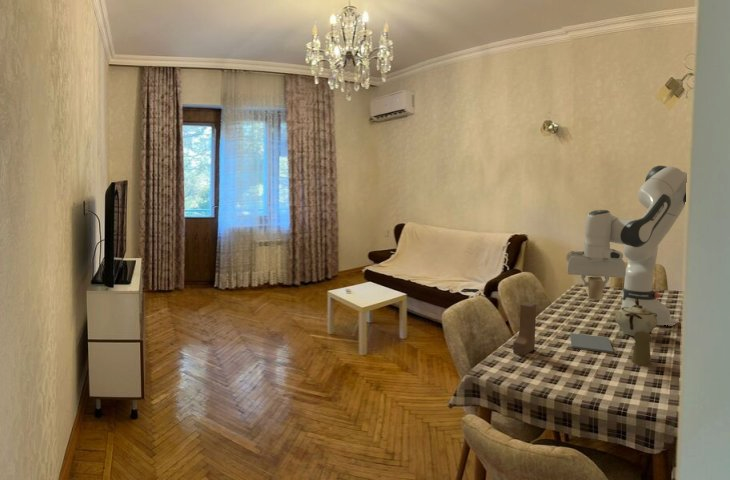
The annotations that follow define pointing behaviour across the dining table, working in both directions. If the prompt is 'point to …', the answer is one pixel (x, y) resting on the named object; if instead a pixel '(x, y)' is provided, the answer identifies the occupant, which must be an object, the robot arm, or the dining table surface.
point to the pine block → (594, 287)
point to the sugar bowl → (635, 319)
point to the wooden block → (526, 330)
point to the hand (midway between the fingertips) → (594, 287)
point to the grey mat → (591, 342)
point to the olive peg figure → (642, 349)
